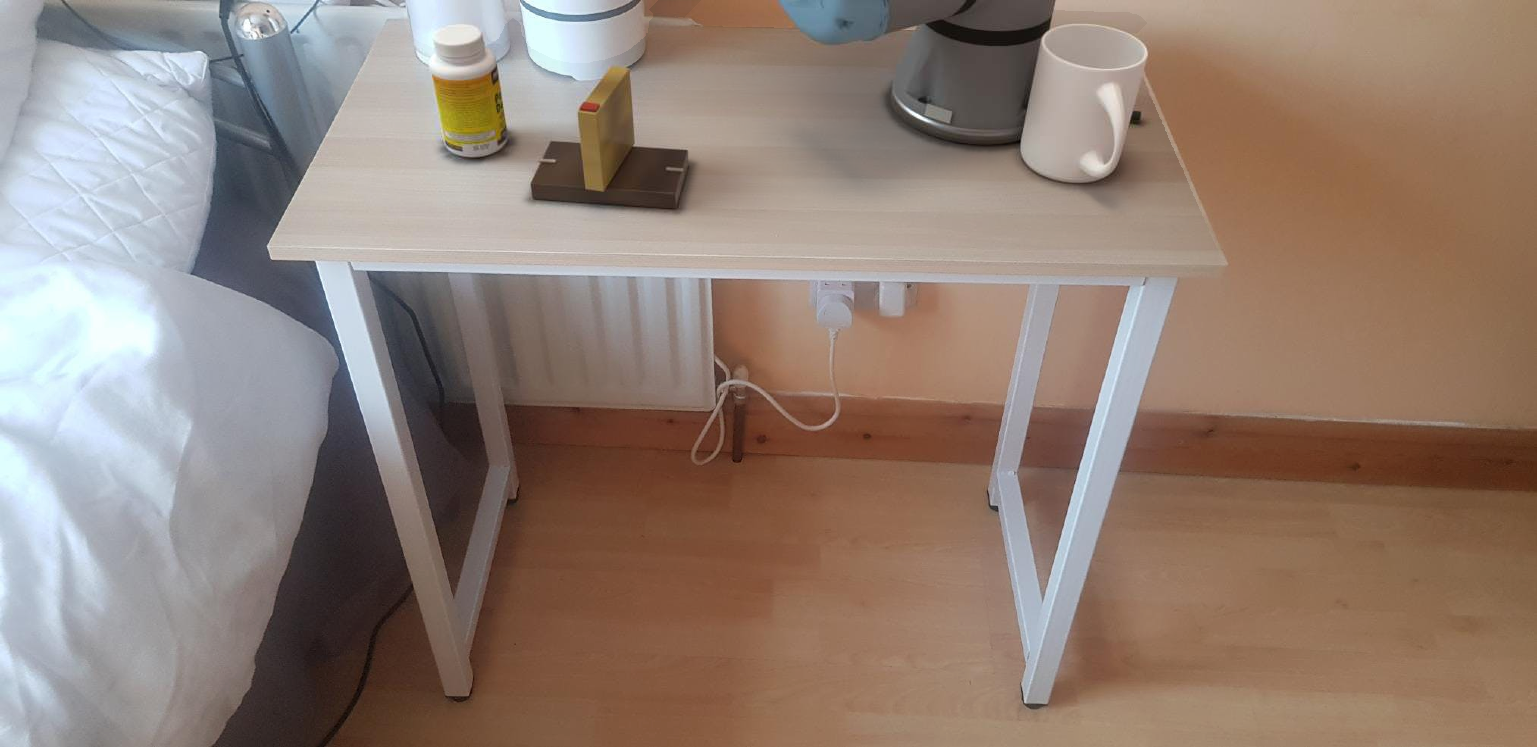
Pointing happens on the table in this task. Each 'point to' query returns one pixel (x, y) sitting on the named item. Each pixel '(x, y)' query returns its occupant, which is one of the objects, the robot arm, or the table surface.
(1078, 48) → the mug
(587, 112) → the lock turn
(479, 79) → the supplement bottle
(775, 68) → the table surface
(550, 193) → the panel
